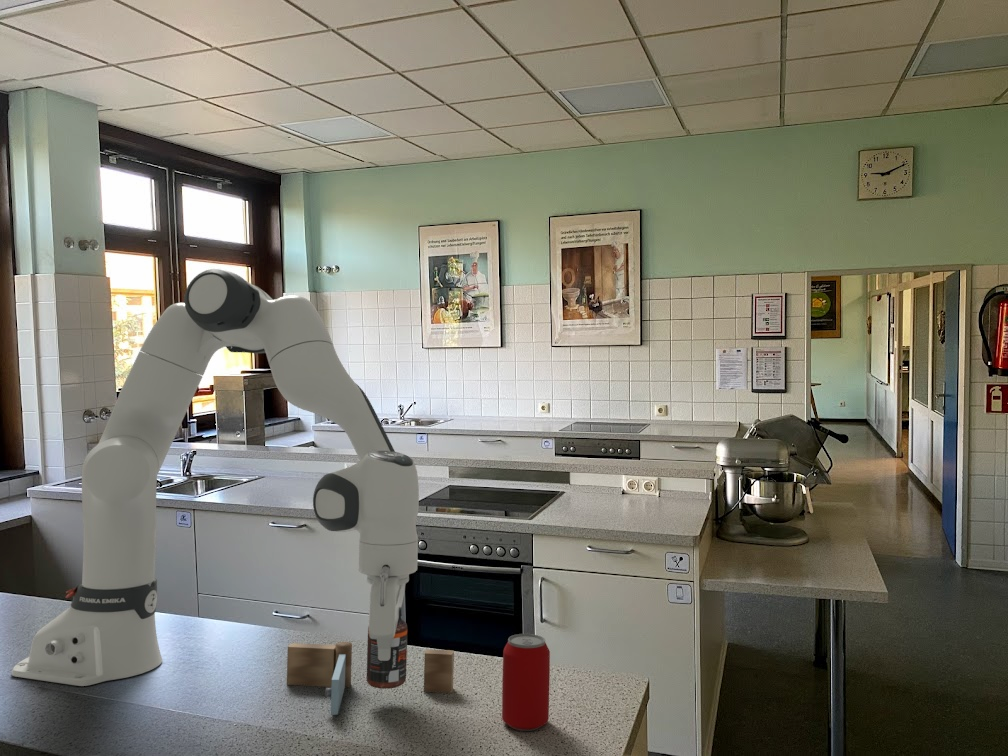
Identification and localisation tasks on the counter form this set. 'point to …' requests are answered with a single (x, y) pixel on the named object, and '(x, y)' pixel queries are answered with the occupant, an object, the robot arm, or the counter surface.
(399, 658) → the supplement bottle
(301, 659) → the door frame
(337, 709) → the door
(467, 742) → the counter surface
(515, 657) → the beverage can
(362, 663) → the counter surface
